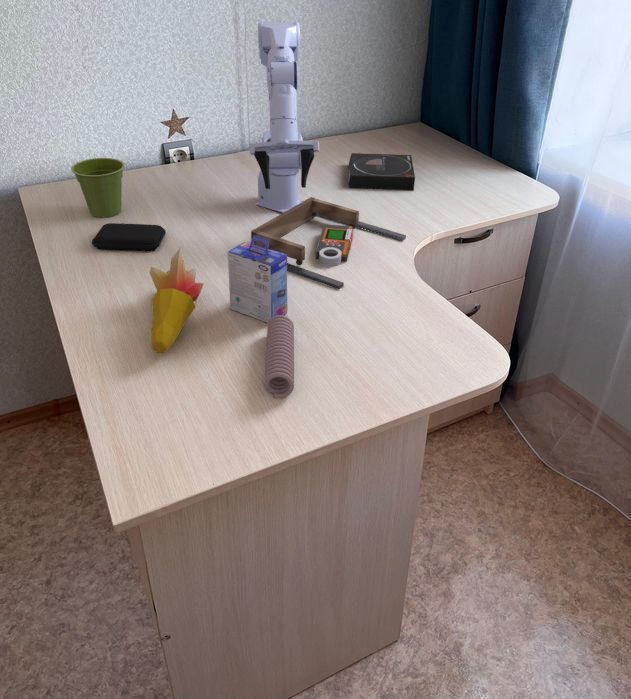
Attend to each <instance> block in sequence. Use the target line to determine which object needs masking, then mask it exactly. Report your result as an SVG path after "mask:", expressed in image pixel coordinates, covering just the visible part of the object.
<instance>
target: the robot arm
mask: <svg viewBox="0 0 631 699" xmlns="http://www.w3.org/2000/svg"><path fill="white" fill-rule="evenodd" d="M300 27H301V26H300V23H299V22H298V21H290V22H289V21H283V22H282V21H262V20H261V21H259V23H257V36H258V38H257V40H258V42H257V43H258V49H259V51H258V52H259V56H258V57H259V59H260V64H261V65H263V66H264V67H265V68H266V88H267V92H268V101H269V121H270V122H269V125H270V126H269V128H270V129H269V130H268V131H266V132H265V133H263V135H262V138H261V141H262V142H259V143H257V142H256V143H249V154H250V155H251V156H254V158H255V160H256V162H257V164H258V166H259V169H260V170H259V172H258V175H257V192H258V193H257V194H258V196H257V197H258V198H257V199H258V201H257V202H256V205H257V206H260V207H263V208H265V209H268V210H273V211H275V212H278V213H281V214H282V213H284V212H286V211H287V210H289V209H291V208H293V207H294V206H296V205H298V204H300V203H301V202H303V201H304V200H302V199H299V173H300V171H301V173H300V174H301V175H300V184H301V188H304V189H305V188H306V187H307V186H306V185H307V180H308V175H309V172H310V169H311V166H312V164H313V160H314V159H315V153H319V152H320V142H319V140H303V137H302V134H301V133H300V132H299V131H298V103H297V102H298V101H297V100H298V99H297V97H298V96H297V92H298V89H299V67H298V63H299V59H300V48H301V31H300V30H301V29H300Z"/></svg>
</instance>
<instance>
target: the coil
mask: <svg viewBox="0 0 631 699" xmlns="http://www.w3.org/2000/svg"><path fill="white" fill-rule="evenodd" d="M265 347H266V348H265V350H266V351H265V363H264V364H265V366H264V367H265V369H264V381H263V382H264V383H263V384H264V387H265V390H266V391H267V392H269V393H270V394H273V396H272V397H273V399H284V398H286V397H288V396H291V394H292V393H293V391H294V388H295V324H294V322H293V321H292V319H291V318H289V317H288V316H285V315H277V316H274V317H272V318H271V319H270V320H269V321H268V323H267V328H266V343H265Z"/></svg>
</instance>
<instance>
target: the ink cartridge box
mask: <svg viewBox="0 0 631 699" xmlns="http://www.w3.org/2000/svg"><path fill="white" fill-rule="evenodd" d="M255 241H261V242H263V243H264V244H265V247H262V246H258V245H255V244H254V242H255ZM269 241H270V240H268V239H265V238H262V237H259V236H256V235H253V238H252V241H250V242H248V241H247V242H246V241H243V242H242V243H240V244H238V245H236V246H234V247H233V248H231V249H230V250H228V251H227V252H226V253H227V267H228V268H227V269H228V286H229V290H228V291H229V308H230V310H232V311H236V312H238V313H240V314H244V315H246V316H248V317H252V318H254V319H256V320H260V321H262V322H265V323H267V324H268V321H269V320H270V319H271V318H272V317H274V316H277V315H283V316H285V315H286V314H287V313H288V271H287V263H288V257H287V254H284V253H280V252H277V251H274V250H270V249H268V246H269Z"/></svg>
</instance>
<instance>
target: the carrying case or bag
mask: <svg viewBox="0 0 631 699" xmlns="http://www.w3.org/2000/svg"><path fill="white" fill-rule="evenodd" d="M166 233H167V232H166V230H165V228H164V227H163V226H161V225H160V224H159V225H158V224H148V223H146V224H145V223H144V224H142V223H116V222H115V223H113V222H109V223H105V224H104V225H102V226H101V227H100V229H99V230H98V232H97V233H96V235H94V237H93V239H91V245H92V246H93V247H94V248H95V249H96V250H99V251H118V252H119V251H121V252H122V251H124V252H154V251H156V250H157V249H158V248H159V247H160V246H161V244H162V241H163V240H164V238H165V236H166Z"/></svg>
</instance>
